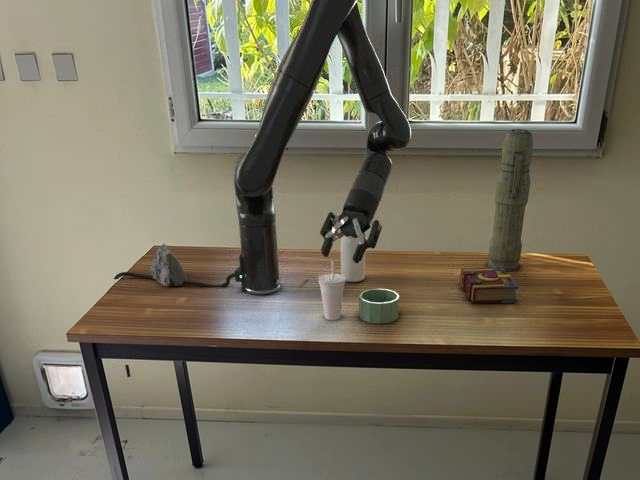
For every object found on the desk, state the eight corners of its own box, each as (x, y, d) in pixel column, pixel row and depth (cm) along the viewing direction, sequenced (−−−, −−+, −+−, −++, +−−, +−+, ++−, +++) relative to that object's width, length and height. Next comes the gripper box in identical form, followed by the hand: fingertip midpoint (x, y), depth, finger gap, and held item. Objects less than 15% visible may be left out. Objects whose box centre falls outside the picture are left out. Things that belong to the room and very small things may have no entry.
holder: (356, 321, 165) (356, 301, 163) (363, 306, 173) (363, 287, 170) (395, 324, 164) (395, 304, 161) (400, 309, 171) (401, 290, 169)
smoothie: (326, 324, 164) (325, 265, 156) (314, 314, 169) (313, 257, 161) (350, 319, 167) (350, 261, 159) (338, 310, 171) (337, 253, 163)
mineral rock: (153, 272, 194) (147, 235, 188) (192, 271, 195) (187, 234, 189) (145, 288, 184) (138, 250, 178) (186, 287, 184) (181, 249, 179)
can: (364, 282, 187) (365, 237, 180) (340, 282, 187) (340, 237, 180) (364, 274, 192) (365, 230, 185) (341, 274, 192) (340, 230, 185)
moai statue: (513, 258, 202) (531, 126, 182) (523, 272, 193) (543, 134, 173) (483, 259, 202) (497, 126, 182) (491, 273, 193) (507, 135, 173)
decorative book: (471, 305, 173) (473, 285, 171) (457, 282, 187) (459, 264, 184) (516, 303, 174) (519, 284, 171) (499, 281, 187) (501, 262, 185)
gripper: (333, 183, 164) (307, 245, 163) (386, 191, 158) (360, 255, 157) (345, 201, 171) (320, 261, 169) (396, 210, 165) (371, 271, 163)
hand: (339, 258), depth 163 cm, fingers open, 8 cm apart
